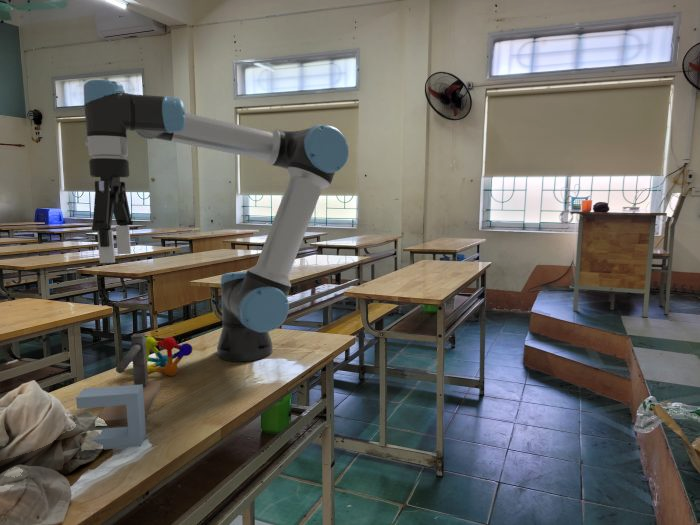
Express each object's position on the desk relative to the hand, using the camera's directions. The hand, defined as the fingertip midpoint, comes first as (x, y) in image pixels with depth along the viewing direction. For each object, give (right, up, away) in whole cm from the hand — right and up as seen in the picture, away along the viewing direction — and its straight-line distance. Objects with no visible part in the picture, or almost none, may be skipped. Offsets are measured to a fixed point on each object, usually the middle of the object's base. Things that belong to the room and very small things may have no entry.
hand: (116, 258), depth 107 cm
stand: (+4, -31, -2) cm, 32 cm away
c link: (+8, -34, -18) cm, 39 cm away
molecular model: (+2, -29, +17) cm, 33 cm away
